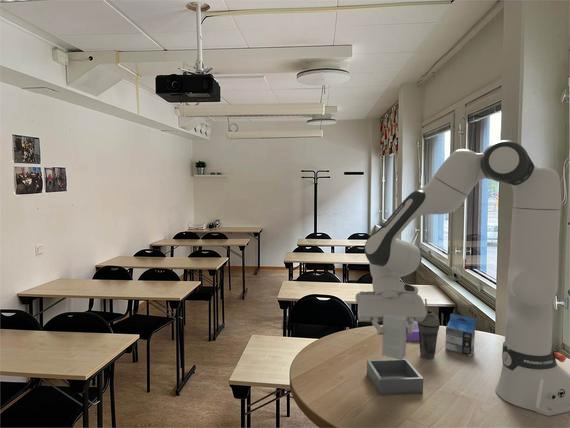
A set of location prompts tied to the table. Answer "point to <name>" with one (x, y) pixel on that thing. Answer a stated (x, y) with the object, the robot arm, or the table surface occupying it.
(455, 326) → the label tape cartridge
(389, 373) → the box
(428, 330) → the beverage cup
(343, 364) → the table surface
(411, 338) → the masking tape
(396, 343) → the skincare box
